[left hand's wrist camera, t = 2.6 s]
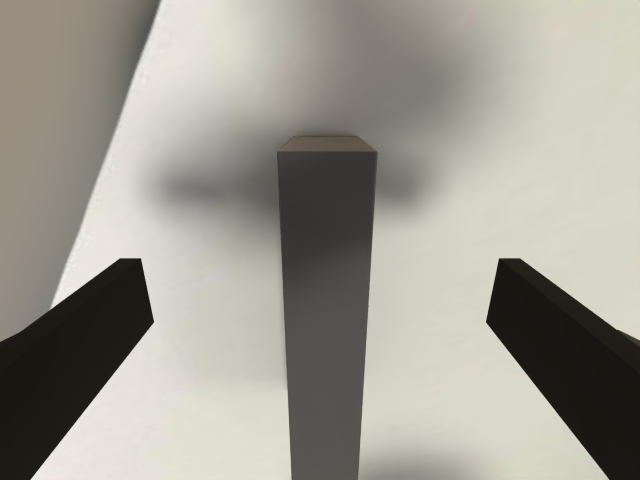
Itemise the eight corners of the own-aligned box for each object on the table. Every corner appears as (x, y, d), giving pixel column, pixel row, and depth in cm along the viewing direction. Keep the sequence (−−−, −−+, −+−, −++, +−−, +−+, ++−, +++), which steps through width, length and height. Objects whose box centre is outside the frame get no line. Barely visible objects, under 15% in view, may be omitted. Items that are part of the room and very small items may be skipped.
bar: (293, 136, 25) (276, 151, 16) (358, 136, 25) (377, 151, 16) (300, 384, 33) (291, 482, 25) (348, 384, 33) (357, 483, 24)
